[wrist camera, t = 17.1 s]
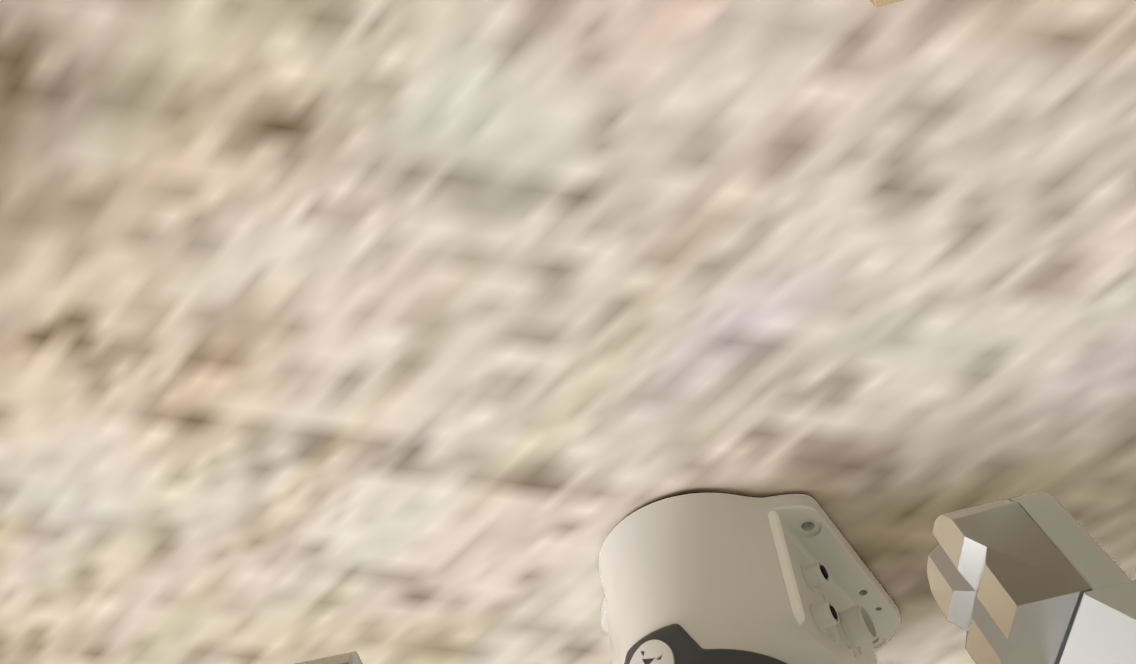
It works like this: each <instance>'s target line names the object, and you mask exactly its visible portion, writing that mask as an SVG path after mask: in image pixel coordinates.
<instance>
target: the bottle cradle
mask: <svg viewBox="0 0 1136 664" xmlns="http://www.w3.org/2000/svg"><path fill="white" fill-rule="evenodd" d="M870 1H871V2H872V3H873V4H874V5H875V6H876V7H881V6H884V5H888V4H891V3H895V2H898V1H902V0H870Z"/></svg>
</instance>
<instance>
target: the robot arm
mask: <svg viewBox="0 0 1136 664" xmlns="http://www.w3.org/2000/svg"><path fill="white" fill-rule="evenodd" d="M932 534H933V535H934V536H935V538H936V539H937V541H938V542H939V544H938V545H937V546H936V547H935V548H934V549H933V550H932V551H931V552H930V553H929V555H928V562H927V576H928V580H929V585H930V590H931V592H932V594H933V596H934V599H935V601H936V603H937V605H938V607H939V608H940V610H941V611H942V613H943V614H944V616H945V618H946V619H947V620H948V621H949V622H951V623H953V624H955V625H956V626H958V627H960V628H962V629H963V630H965V631H967V634H966V645H965V648H966V650H967V651H968V653H969V654H970V656H971V657H972V659H973V660H974V662H975V663H976V664H1136V580H1131V579H1130V578H1129V577H1128V576H1127V575H1126V574H1125V573H1124V571H1123V570H1122V569H1121V568H1120V567H1119V566H1118V565H1117V564H1116V563H1115V562H1114V561H1113V560H1112V559H1111V557H1110V556H1109V555H1108V554H1107V553H1106V552H1105V551H1104V550H1103V549H1102V548H1101V547H1100V546H1099V545H1098V543H1097V542H1096V541H1095V540H1094V539H1093V538H1092V537H1091V536H1090V535H1089V534H1088V533H1087V532H1086V531H1085V529H1084V528H1083V527H1082V526H1081V525H1080V524H1079V523H1078V522H1077V521H1076V520H1075V519H1074V518H1073V517H1072V515H1071V514H1070V513H1069V512H1068V511H1067V510H1066V509H1065V508H1064V507H1063V506H1062V505H1061V504H1060V503H1059V501H1058V500H1057V499H1056V498H1055V497H1054V496H1053V495H1051V494H1049V493H1047V492H1045V491H1040V492H1035V493H1030V494H1026V495H1022V496H1018V497H1014V498H1010V499H1007V500H1006V499H1001V500H997V501H993V502H989V503H985V504H981V505H977V506H973V507H969V508H965V509H961V510H957V511H953V512H949V513H945V514H941V515H940V516H939V517H938V518H937V519H936V520H935V522H934V527H933V532H932ZM599 573H600V577H601V581H602V585H603V589H604V594H605V598H604V601H603V604H602V608H601V622H602V628H603V630H604V631H605V632H606V633H608V634H609V639H610V649H611V658H612V664H877V659H876V655H875V651H877V650H878V649H879V648H881V647H882V646H883V645H884V644H885V643H886V642H887V641H888V640H889V639H890V638H891V637H892V636H893V635H894V634H895V632H896V631H897V630H898V628H899V627H900V625H901V617H900V611H899V609H898V607H897V606H896V605H895V603H894V602H893V600H892V599H891V598H890V597H889V595H888V594H887V593H886V591H885V590H884V589H883V587H882V586H881V585H880V583H879V582H878V581H877V580H876V578H875V577H874V576H873V574H872V573H871V572H870V570H869V569H868V568H867V567H866V565H865V564H864V563H863V561H862V560H861V559H860V557H859V556H858V555H857V553H856V552H855V551H854V550H853V548H852V547H851V546H850V544H849V543H848V542H847V540H846V539H845V538H844V537H843V535H842V534H841V533H840V531H839V530H838V529H837V527H836V526H835V525H834V524H833V522H832V521H831V520H830V518H829V517H828V516H827V514H826V513H825V512H824V510H823V509H822V508H821V507H820V505H819V504H818V503H817V501H816V500H815V499H814V498H812V497H811V496H809V495H805V494H786V495H777V496H770V497H764V498H757V497H747V496H740V495H734V494H726V493H693V494H685V495H679V496H674V497H670V498H666V499H663V500H660V501H657V502H654V503H651V504H649V505H647V506H645V507H642V508H640V509H639V510H637V511H635V512H633V513H632V514H630V515H629V516H627V517H626V518H625V519H623V520H622V521H621V522H620V523H619V524H618V525H617V526H616V527H615V528H614V529H613V530H612V531H611V532H610V534H609V535H608V536H607V538H606V540H605V541H604V544H603V546H602V548H601V551H600V555H599ZM296 664H363V663H362V661H361V659H360V658H359V656H358V654H357V652H356V651H354V652H349V653H344V654H339V655H335V656H330V657H325V658H320V659H315V660H311V661H306V662H301V663H296Z"/></svg>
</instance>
